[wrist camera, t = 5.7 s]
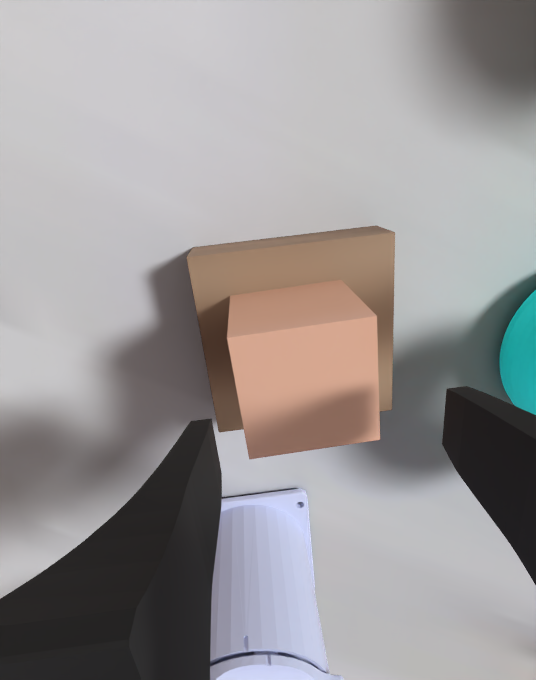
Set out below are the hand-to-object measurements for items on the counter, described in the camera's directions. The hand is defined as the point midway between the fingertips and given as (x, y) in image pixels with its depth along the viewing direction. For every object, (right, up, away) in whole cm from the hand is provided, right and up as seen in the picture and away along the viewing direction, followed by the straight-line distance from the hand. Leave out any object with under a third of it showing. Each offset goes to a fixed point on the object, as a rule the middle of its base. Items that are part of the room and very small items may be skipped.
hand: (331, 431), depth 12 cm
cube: (-1, +3, +7) cm, 7 cm away
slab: (-1, +4, +9) cm, 10 cm away
